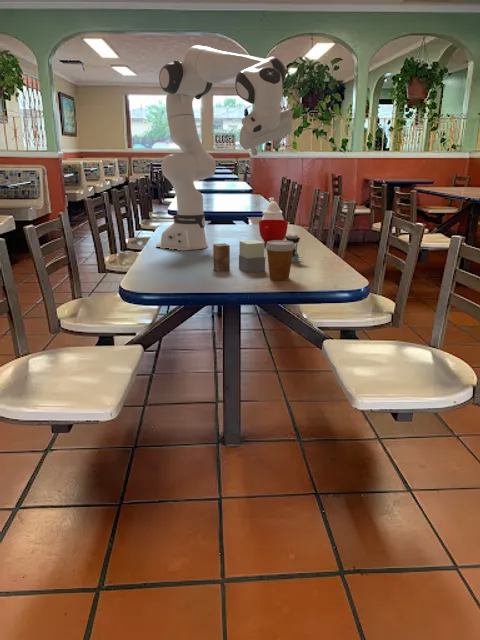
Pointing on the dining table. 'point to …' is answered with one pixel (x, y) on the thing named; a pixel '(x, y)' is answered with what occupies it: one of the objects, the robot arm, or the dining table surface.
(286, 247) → the disposable coffee cup
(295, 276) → the dining table surface
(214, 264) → the walnut post
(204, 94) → the robot arm
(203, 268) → the dining table surface
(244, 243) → the tower top block
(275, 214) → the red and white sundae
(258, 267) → the tower base block
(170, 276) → the dining table surface
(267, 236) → the ceramic cup
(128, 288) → the dining table surface
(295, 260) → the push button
